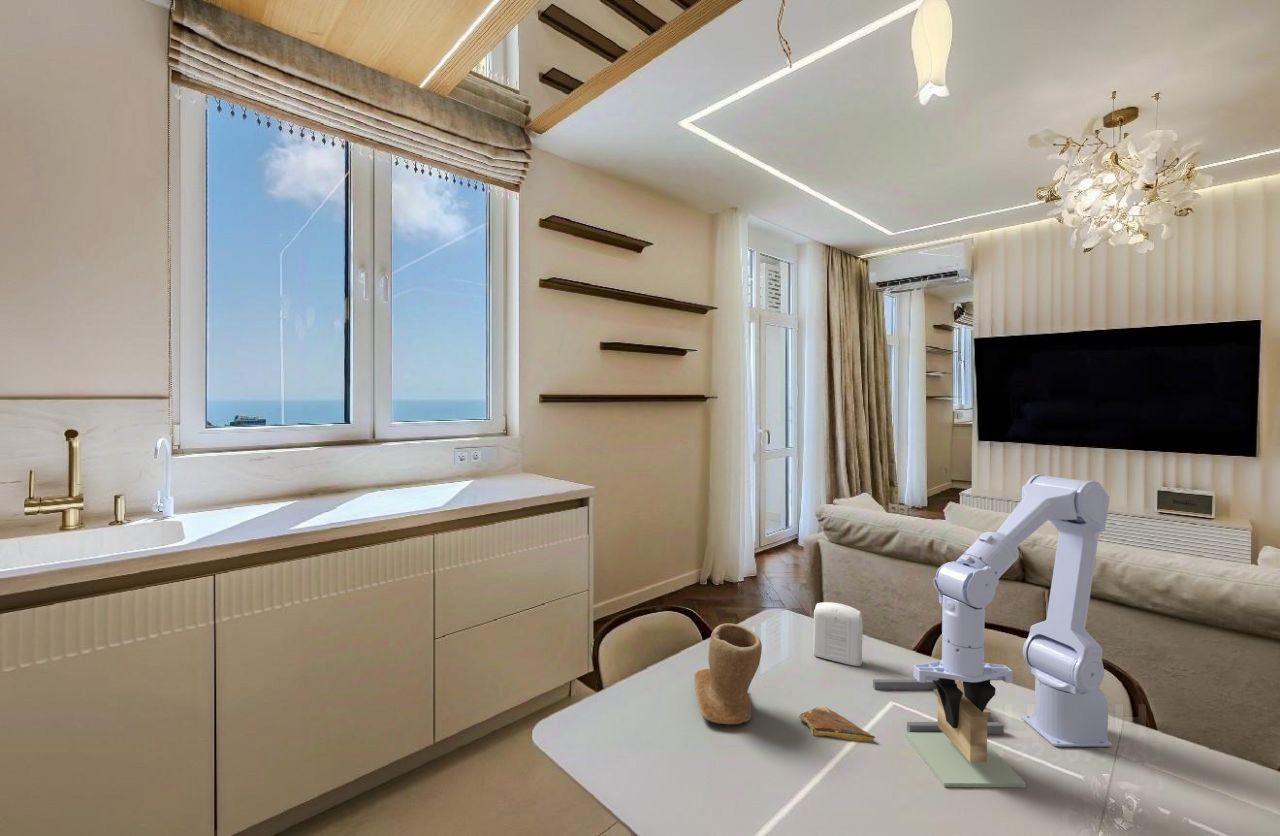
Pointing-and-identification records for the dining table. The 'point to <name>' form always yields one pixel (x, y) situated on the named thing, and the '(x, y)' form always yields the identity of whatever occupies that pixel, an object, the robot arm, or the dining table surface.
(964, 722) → the oak block
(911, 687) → the offcut rack
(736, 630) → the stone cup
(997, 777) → the sage mat
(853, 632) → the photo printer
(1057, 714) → the robot arm
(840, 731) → the shard
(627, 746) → the dining table surface
